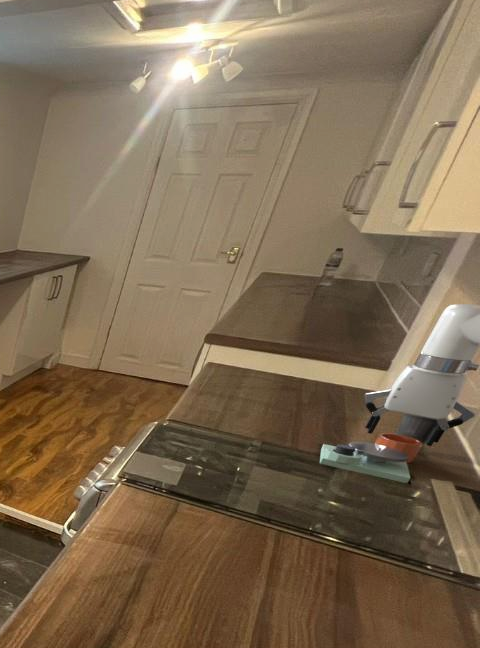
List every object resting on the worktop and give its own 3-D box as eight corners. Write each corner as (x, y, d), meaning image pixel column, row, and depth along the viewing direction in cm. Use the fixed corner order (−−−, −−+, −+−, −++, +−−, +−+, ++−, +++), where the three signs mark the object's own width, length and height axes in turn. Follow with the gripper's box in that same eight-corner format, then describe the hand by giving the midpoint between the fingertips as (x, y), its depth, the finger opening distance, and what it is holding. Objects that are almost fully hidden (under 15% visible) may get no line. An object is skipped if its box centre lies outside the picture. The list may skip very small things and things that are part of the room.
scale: (403, 467, 129) (410, 454, 128) (407, 484, 121) (414, 471, 120) (320, 449, 138) (326, 437, 136) (319, 464, 129) (325, 452, 128)
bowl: (410, 458, 134) (421, 438, 132) (412, 467, 129) (424, 447, 127) (368, 450, 138) (378, 430, 136) (369, 458, 133) (380, 438, 131)
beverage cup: (397, 453, 137) (443, 370, 128) (376, 442, 143) (418, 362, 134) (434, 457, 135) (483, 373, 126) (411, 445, 142) (456, 365, 133)
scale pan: (398, 465, 130) (407, 450, 128) (401, 478, 123) (410, 462, 122) (341, 453, 136) (349, 438, 134) (341, 465, 129) (349, 449, 128)
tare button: (351, 453, 128) (355, 446, 128) (352, 457, 126) (355, 450, 126) (334, 450, 130) (337, 442, 130) (333, 453, 128) (337, 446, 128)
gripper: (497, 370, 121) (450, 444, 129) (384, 353, 132) (347, 423, 139) (504, 377, 116) (455, 454, 124) (385, 359, 127) (347, 431, 134)
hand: (398, 438), depth 132 cm, fingers open, 9 cm apart
